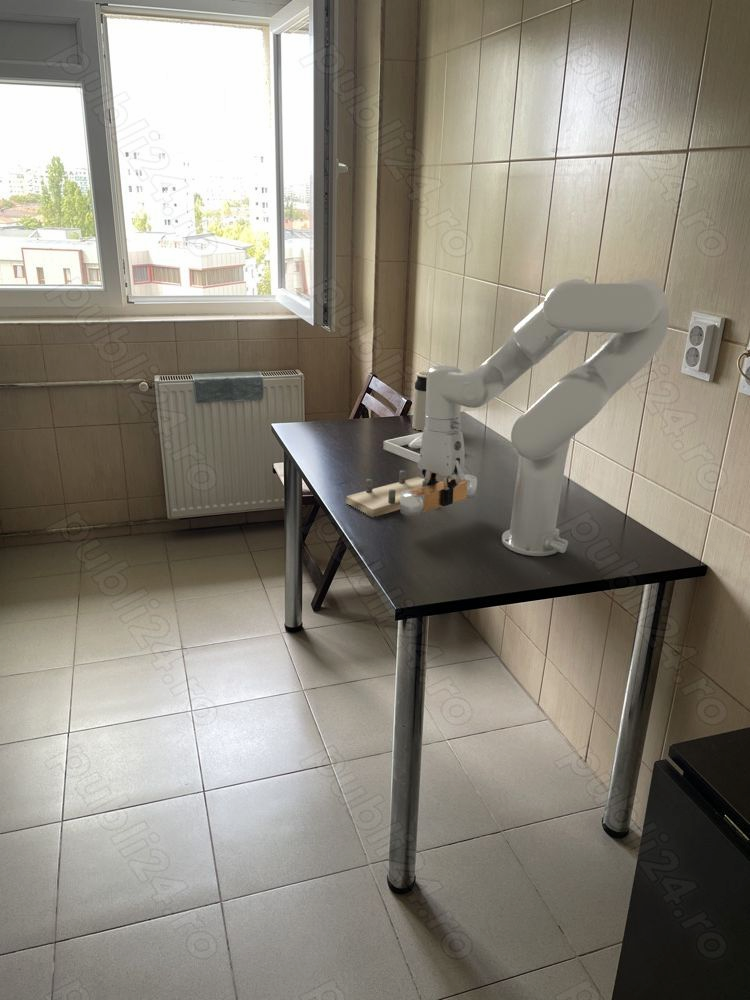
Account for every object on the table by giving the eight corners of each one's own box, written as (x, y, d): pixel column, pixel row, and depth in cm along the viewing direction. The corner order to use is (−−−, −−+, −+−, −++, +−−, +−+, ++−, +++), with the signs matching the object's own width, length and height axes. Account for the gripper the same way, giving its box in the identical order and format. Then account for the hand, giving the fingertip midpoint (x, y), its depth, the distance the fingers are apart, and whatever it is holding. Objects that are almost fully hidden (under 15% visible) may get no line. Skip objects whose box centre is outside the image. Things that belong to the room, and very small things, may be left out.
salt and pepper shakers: (429, 442, 226) (401, 448, 220) (430, 429, 224) (401, 435, 218) (455, 453, 217) (426, 459, 211) (456, 439, 215) (427, 446, 209)
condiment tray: (462, 453, 216) (463, 445, 215) (420, 464, 206) (421, 455, 205) (424, 439, 227) (425, 431, 226) (383, 449, 217) (383, 440, 216)
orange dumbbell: (480, 494, 171) (481, 478, 170) (411, 517, 158) (411, 500, 156) (464, 488, 175) (465, 472, 173) (395, 510, 161) (395, 493, 160)
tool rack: (445, 495, 184) (446, 477, 182) (372, 517, 169) (373, 497, 168) (417, 483, 191) (419, 465, 189) (345, 503, 176) (346, 484, 175)
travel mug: (410, 430, 236) (414, 375, 229) (413, 424, 243) (417, 370, 236) (435, 432, 235) (439, 377, 228) (437, 426, 242) (441, 372, 235)
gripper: (482, 428, 156) (478, 508, 163) (428, 413, 168) (425, 488, 174) (458, 434, 151) (454, 516, 158) (403, 418, 163) (402, 495, 170)
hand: (439, 501), depth 166 cm, fingers closed on orange dumbbell, 4 cm apart
